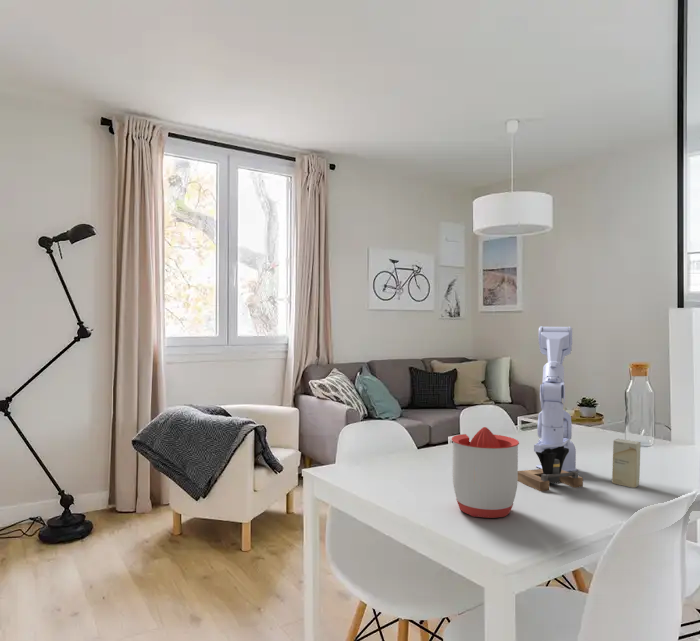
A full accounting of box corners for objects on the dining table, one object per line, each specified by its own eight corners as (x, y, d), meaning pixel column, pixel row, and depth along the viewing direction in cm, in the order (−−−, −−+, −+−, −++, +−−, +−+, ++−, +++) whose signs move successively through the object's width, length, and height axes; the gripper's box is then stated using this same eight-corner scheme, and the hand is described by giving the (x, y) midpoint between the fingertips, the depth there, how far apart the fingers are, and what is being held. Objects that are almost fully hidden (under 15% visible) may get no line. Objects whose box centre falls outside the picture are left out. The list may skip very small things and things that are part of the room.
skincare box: (611, 483, 154) (612, 440, 155) (616, 480, 158) (616, 438, 158) (636, 488, 150) (636, 443, 150) (640, 485, 154) (640, 441, 154)
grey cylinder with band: (557, 479, 155) (557, 458, 155) (561, 483, 151) (561, 461, 151) (543, 479, 155) (543, 458, 155) (547, 483, 151) (547, 461, 151)
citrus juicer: (504, 498, 141) (504, 420, 141) (528, 522, 123) (529, 433, 124) (443, 498, 140) (444, 419, 140) (459, 523, 123) (460, 433, 123)
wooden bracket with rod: (556, 476, 162) (556, 462, 162) (582, 486, 151) (582, 472, 151) (515, 479, 157) (515, 466, 157) (539, 491, 147) (540, 476, 147)
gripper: (554, 421, 161) (553, 467, 161) (524, 426, 152) (524, 475, 152) (576, 424, 155) (576, 472, 155) (547, 430, 146) (546, 481, 146)
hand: (552, 474), depth 153 cm, fingers closed on grey cylinder with band, 4 cm apart
